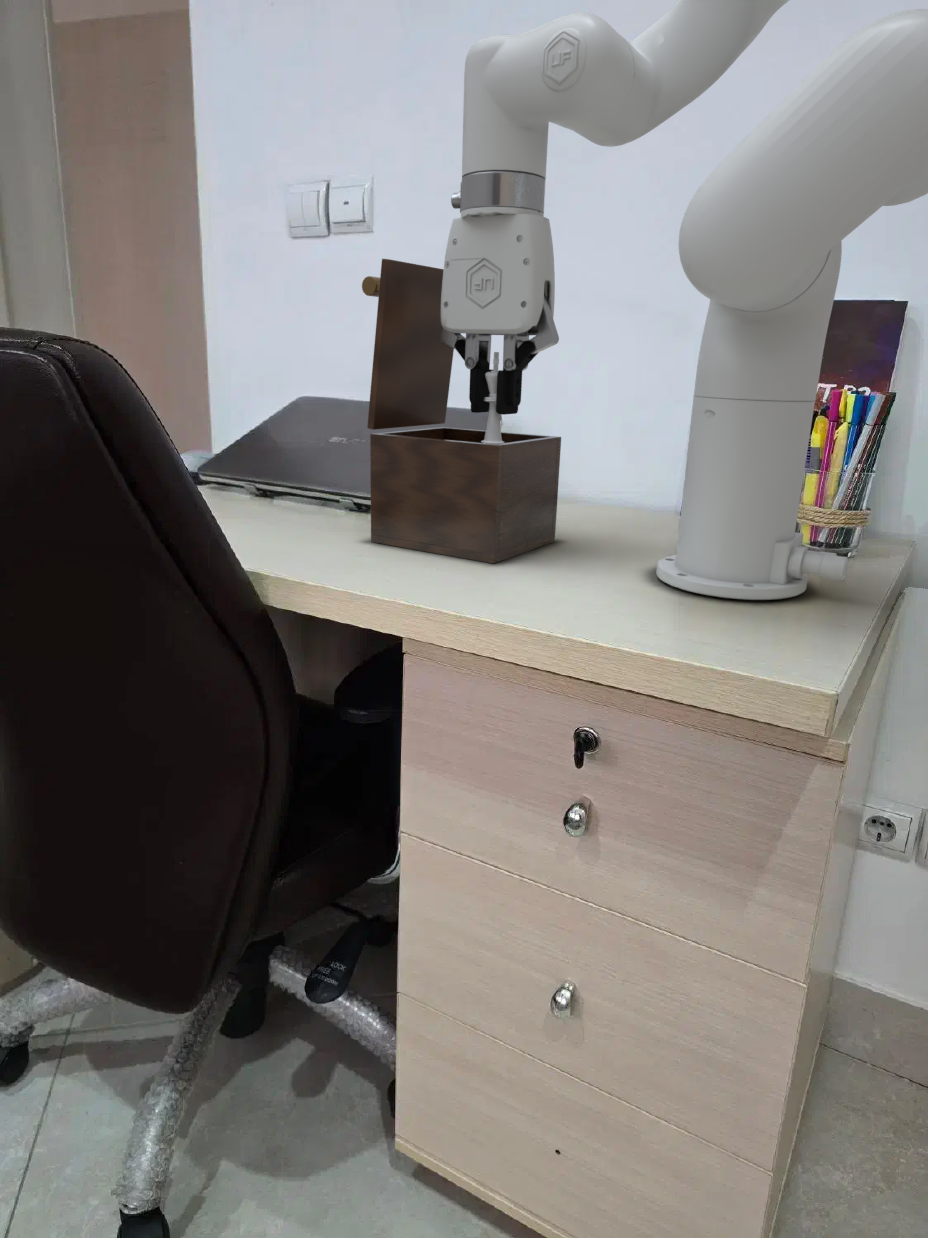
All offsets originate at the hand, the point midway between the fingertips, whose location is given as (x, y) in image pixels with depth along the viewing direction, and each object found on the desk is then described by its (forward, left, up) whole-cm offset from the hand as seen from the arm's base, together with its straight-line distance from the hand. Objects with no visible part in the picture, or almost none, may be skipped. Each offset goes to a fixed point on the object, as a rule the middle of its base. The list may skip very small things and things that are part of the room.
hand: (494, 411), depth 80 cm
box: (+3, 0, -13) cm, 14 cm away
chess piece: (0, 0, -5) cm, 5 cm away
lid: (+9, 0, +6) cm, 11 cm away
